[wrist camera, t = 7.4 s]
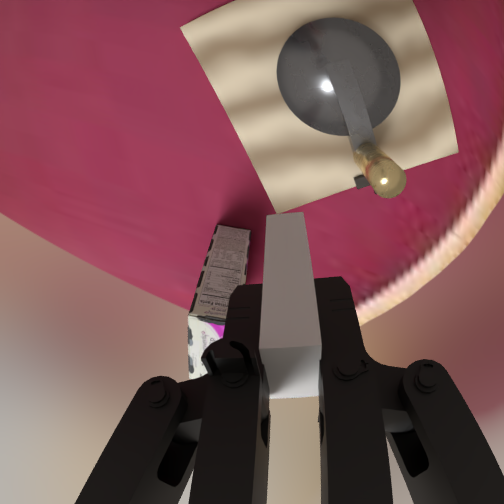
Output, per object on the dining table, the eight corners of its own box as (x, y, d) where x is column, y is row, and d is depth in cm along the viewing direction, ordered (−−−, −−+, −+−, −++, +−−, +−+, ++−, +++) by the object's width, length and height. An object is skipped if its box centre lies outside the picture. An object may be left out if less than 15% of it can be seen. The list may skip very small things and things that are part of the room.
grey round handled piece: (257, 41, 24) (249, 29, 16) (368, 11, 21) (403, -7, 13) (321, 197, 33) (334, 241, 26) (416, 168, 30) (454, 204, 22)
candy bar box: (243, 291, 45) (230, 387, 32) (210, 286, 45) (187, 379, 32) (254, 228, 39) (241, 325, 25) (215, 222, 39) (184, 316, 25)
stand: (185, 29, 25) (177, 26, 23) (385, -35, 18) (393, -42, 16) (277, 207, 37) (277, 217, 35) (450, 148, 30) (461, 154, 28)
